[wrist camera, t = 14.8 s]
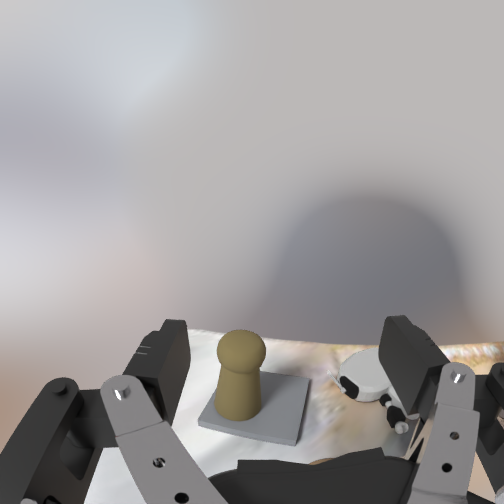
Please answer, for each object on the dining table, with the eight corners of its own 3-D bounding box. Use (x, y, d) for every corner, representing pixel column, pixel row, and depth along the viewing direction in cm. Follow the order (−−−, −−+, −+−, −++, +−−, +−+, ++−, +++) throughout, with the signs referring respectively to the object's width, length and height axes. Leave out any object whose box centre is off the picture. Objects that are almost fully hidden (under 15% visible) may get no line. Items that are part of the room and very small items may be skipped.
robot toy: (439, 404, 32) (372, 357, 44) (451, 382, 30) (379, 336, 42) (392, 450, 26) (318, 387, 38) (406, 430, 24) (324, 364, 36)
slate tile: (308, 383, 39) (309, 377, 39) (295, 446, 28) (296, 440, 28) (230, 371, 42) (229, 365, 42) (198, 425, 31) (197, 419, 31)
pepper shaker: (240, 379, 37) (245, 315, 33) (271, 405, 33) (283, 342, 29) (204, 398, 34) (201, 334, 29) (234, 429, 29) (238, 367, 25)
